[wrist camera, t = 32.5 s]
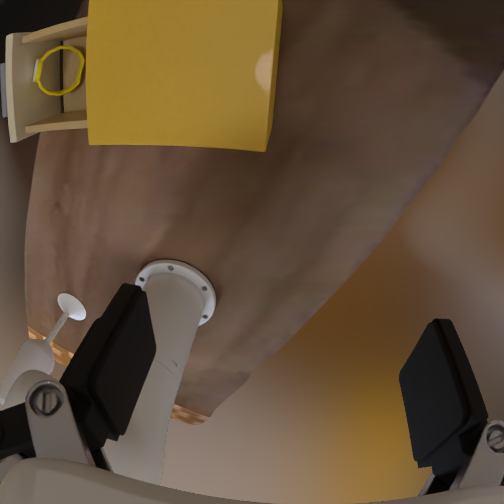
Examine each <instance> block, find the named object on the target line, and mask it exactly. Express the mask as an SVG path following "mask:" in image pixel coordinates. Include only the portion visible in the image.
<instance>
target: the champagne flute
mask: <svg viewBox="0 0 504 504" xmlns="http://www.w3.org/2000/svg"><path fill="white" fill-rule="evenodd" d="M58 304H59V306H60V308H61V309H62V310H63V312H64V313H63V314H62V316H61V317H60V319H59V320H58V322H57V323H56V324H55V326H54V327H53V329H52V330H51V332H50V333H49V335H48V336H47V337H46V339H45V340H40V339H32V340H28V341H26V342H24V343H23V344H22V346H21V348H20V350H19V352H18V353H17V355H16V357H15V359H14V361H13V363H12V365H11V367H10V369H9V371H8V373H7V375H6V377H5V379H4V381H3V383H2V385H1V387H0V403H1V404H2V405H3V404H4V402H5V399H6V397H7V394H8V392H9V390H10V388H11V387H12V385H13V383H14V382H15V380H16V379H17V378H18V377H19V376H20V375H21V374H22V373H24V372H25V371H28V370H39V371H42V372H44V373H46V374H48V375H49V374H50V373H51V372H52V370H53V368H54V355H53V352H52V348H51V346H50V343H51V342H52V340H53V339H54V337H55V336H56V334H57V333H58V331H59V330H60V328H61V327H62V325H63V324H64V322H65V321H66V320H67V318H68V317H71V318H73V319H76V320H83V319H84V318H85V317H86V311H85V308H84V306H83V305H82V304H81V302H80V301H79V300H78V299H76V298H75V297H74V296H72V295H70V294H67V293H62V294H60V295H59V296H58Z"/></svg>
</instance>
